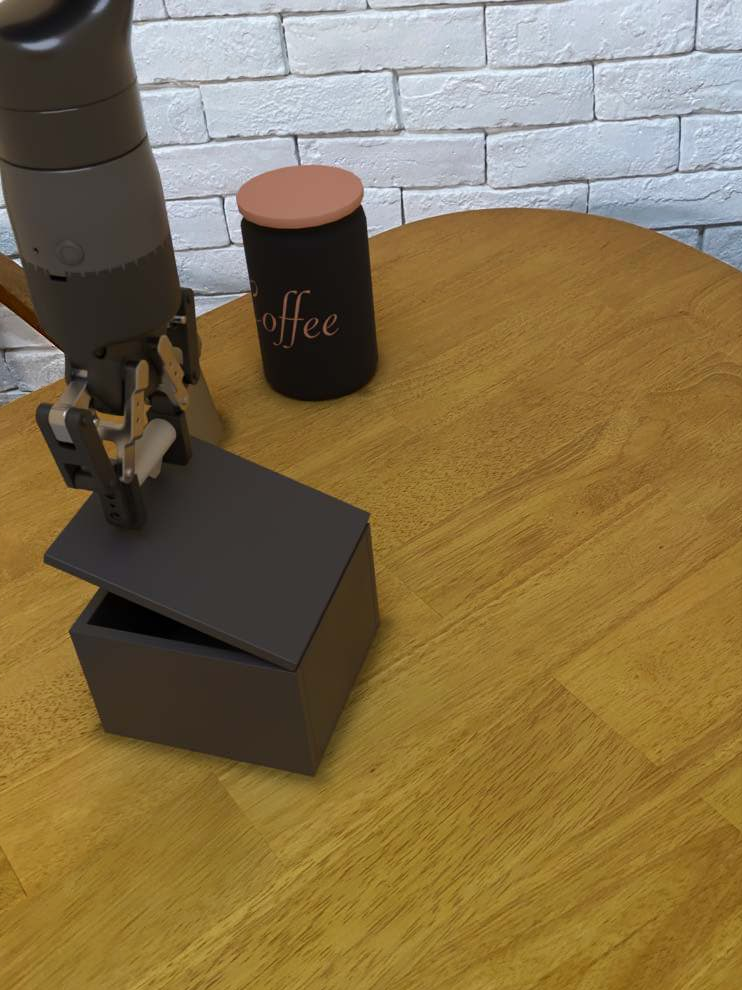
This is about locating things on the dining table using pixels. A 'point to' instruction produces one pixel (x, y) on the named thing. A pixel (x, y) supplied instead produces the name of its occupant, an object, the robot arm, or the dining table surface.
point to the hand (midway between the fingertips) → (152, 491)
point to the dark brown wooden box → (228, 677)
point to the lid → (219, 547)
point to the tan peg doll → (201, 407)
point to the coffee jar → (310, 279)
